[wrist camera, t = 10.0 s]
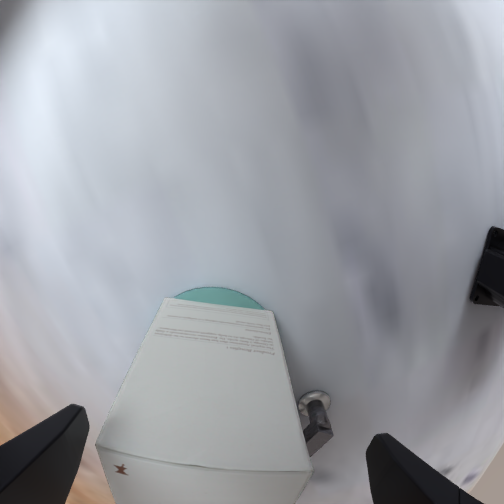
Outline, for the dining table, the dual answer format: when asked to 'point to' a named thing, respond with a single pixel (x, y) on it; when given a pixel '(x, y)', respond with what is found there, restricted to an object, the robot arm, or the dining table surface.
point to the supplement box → (206, 413)
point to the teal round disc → (219, 297)
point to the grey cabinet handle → (316, 420)
